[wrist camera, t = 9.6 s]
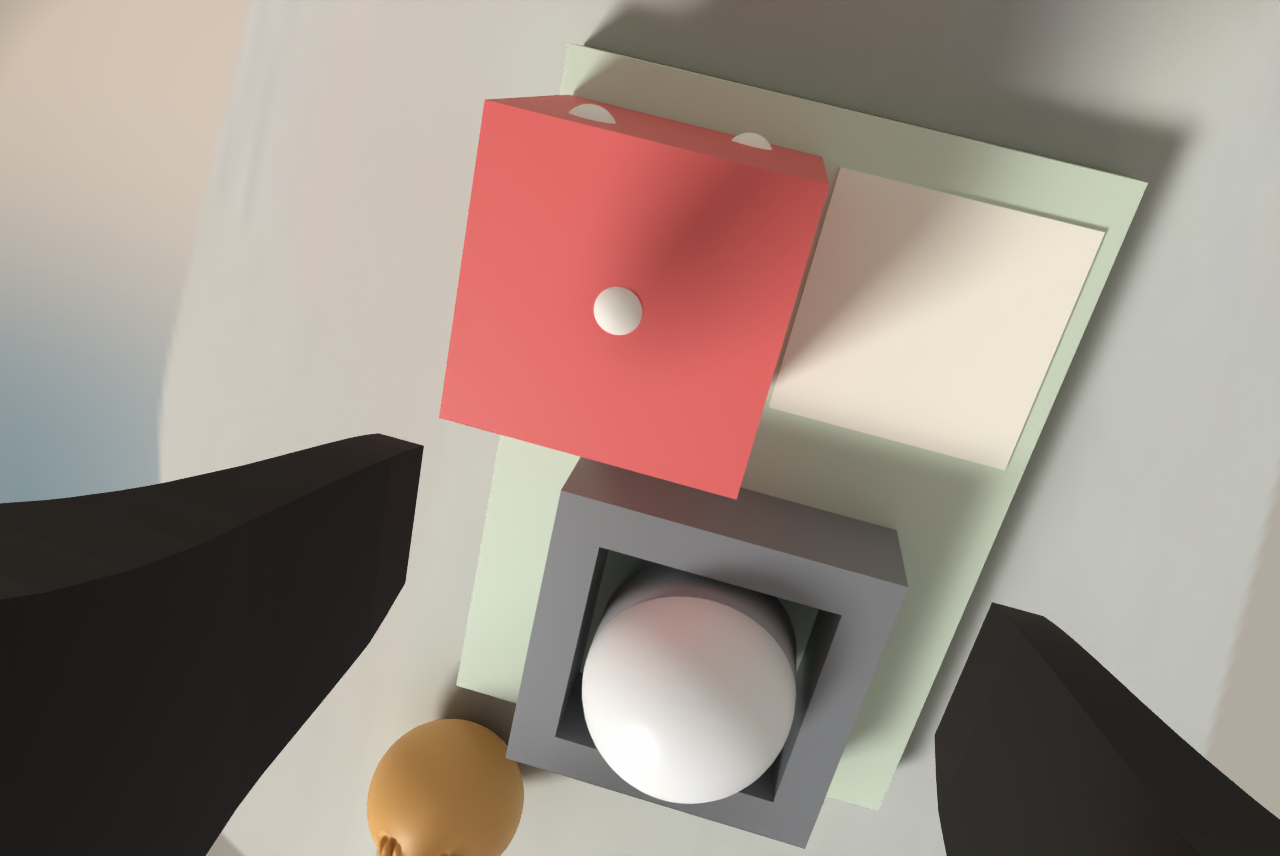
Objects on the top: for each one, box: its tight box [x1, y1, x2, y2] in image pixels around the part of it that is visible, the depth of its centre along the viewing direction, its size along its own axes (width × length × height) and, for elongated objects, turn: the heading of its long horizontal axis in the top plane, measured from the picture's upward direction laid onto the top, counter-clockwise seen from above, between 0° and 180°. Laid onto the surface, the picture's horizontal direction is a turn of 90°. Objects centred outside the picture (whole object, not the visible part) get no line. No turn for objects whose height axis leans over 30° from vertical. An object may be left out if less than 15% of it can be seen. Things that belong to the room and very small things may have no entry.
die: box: [439, 95, 829, 500], centre depth 16 cm, size 5×5×5 cm
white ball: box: [582, 563, 796, 804], centre depth 19 cm, size 4×4×4 cm
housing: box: [505, 457, 908, 849], centre depth 20 cm, size 7×7×2 cm
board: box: [456, 43, 1148, 811], centre depth 20 cm, size 16×11×1 cm
